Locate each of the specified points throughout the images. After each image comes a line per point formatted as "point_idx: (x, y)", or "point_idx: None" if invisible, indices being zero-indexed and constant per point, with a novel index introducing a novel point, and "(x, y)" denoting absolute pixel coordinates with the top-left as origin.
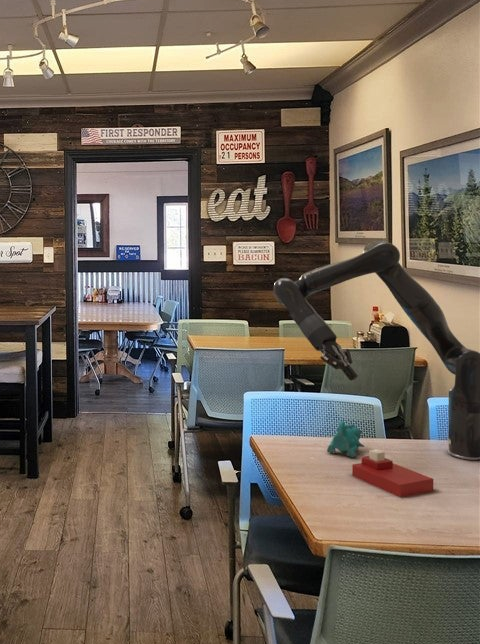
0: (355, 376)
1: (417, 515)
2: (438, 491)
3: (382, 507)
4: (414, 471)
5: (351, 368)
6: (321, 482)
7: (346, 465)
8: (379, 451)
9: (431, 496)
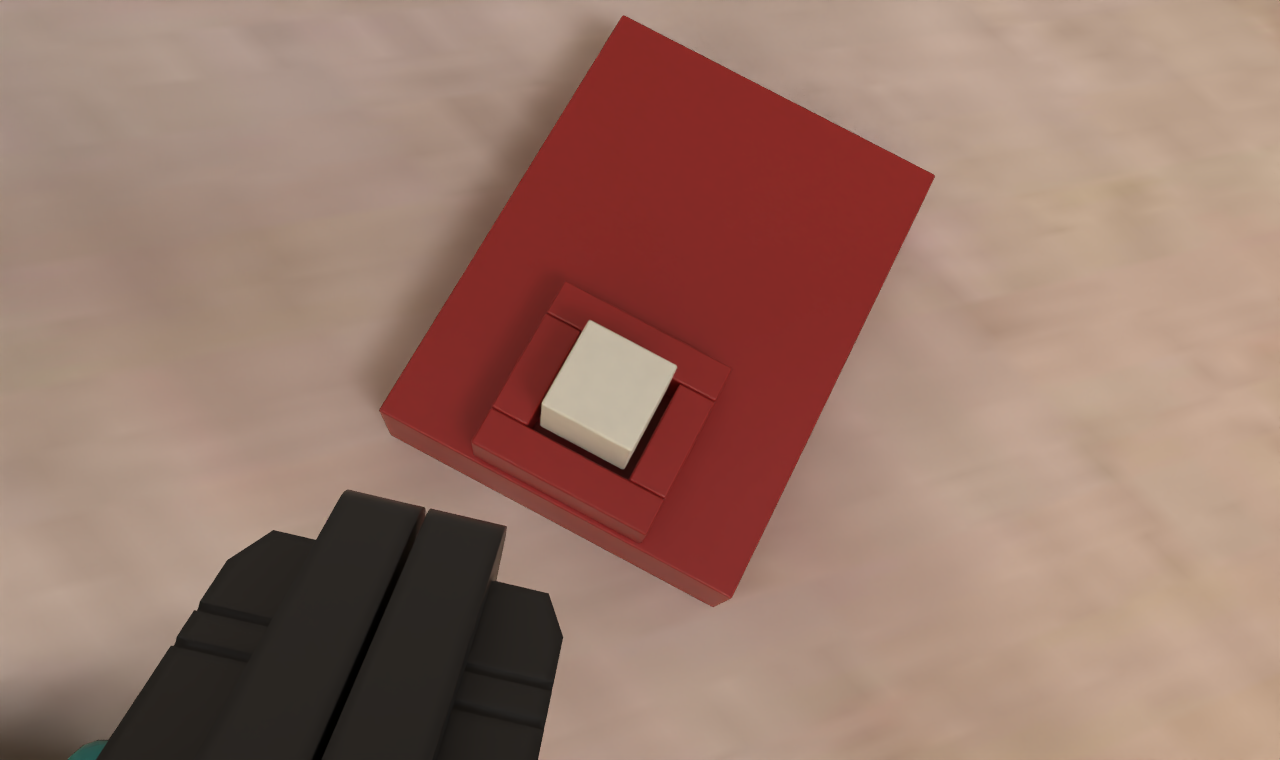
0: (470, 519)
1: (1116, 80)
2: (596, 39)
3: (1161, 264)
4: (545, 146)
5: (276, 694)
6: (1047, 756)
7: None
8: (604, 362)
9: (730, 61)
